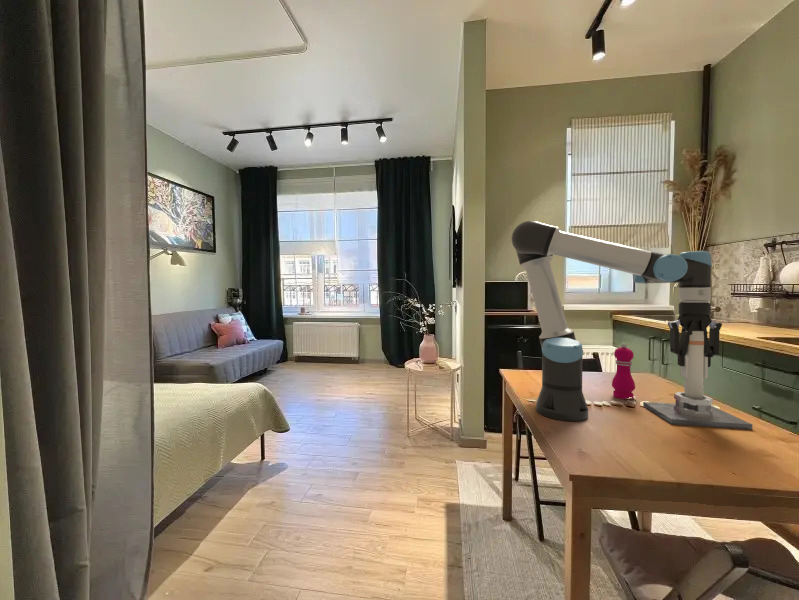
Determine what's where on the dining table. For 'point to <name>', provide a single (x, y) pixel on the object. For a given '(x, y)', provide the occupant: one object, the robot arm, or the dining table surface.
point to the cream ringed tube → (695, 366)
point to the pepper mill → (623, 373)
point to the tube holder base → (695, 413)
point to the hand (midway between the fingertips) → (693, 376)
